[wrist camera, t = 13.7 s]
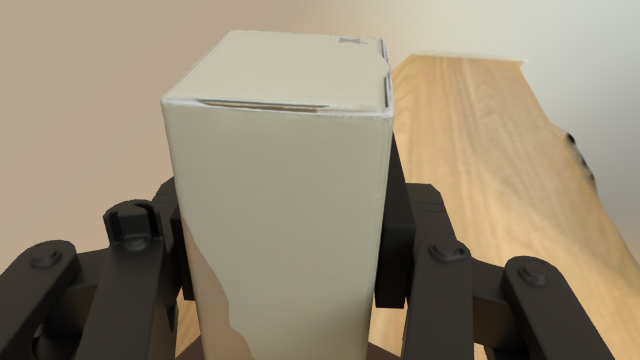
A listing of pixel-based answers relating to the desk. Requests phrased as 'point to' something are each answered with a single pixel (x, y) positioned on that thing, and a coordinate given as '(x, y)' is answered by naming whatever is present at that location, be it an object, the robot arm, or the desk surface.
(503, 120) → the desk surface
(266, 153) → the box
